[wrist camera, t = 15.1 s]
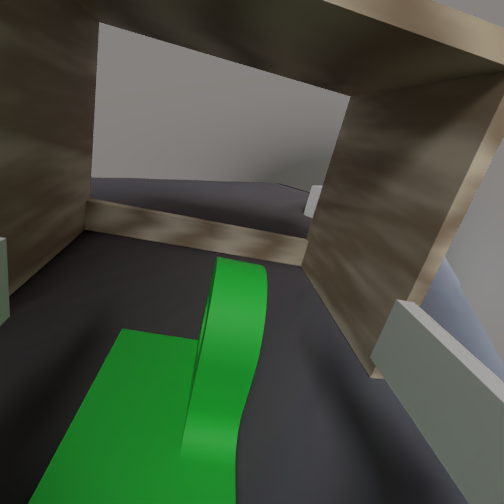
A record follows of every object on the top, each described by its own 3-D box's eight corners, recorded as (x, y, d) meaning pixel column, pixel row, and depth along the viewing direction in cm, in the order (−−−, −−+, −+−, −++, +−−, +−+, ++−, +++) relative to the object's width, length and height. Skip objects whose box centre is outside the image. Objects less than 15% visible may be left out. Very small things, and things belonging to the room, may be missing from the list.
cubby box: (-62, 335, 16) (-143, -222, 9) (77, 224, 32) (86, 0, 25) (383, 379, 21) (548, 45, 14) (306, 263, 37) (364, 85, 30)
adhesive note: (315, 212, 67) (323, 185, 65) (341, 222, 65) (351, 194, 63) (303, 214, 63) (312, 185, 60) (330, 225, 60) (341, 194, 58)
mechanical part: (118, 358, 17) (133, 221, 14) (226, 373, 18) (260, 246, 15) (-86, 782, 6) (-195, 542, 3) (218, 769, 7) (335, 571, 4)
